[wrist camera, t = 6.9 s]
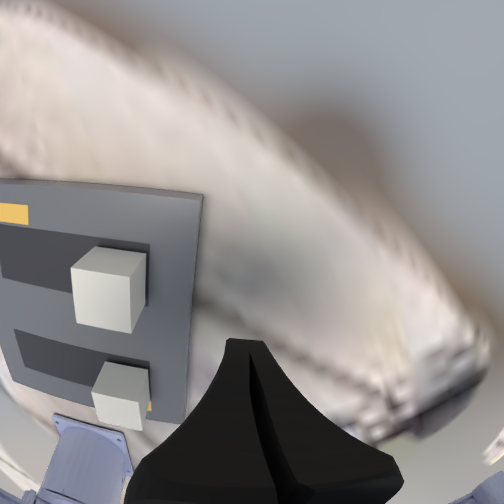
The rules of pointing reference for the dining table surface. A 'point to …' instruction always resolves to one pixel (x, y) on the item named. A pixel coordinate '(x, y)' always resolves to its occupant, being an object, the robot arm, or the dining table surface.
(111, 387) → the tab far
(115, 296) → the tab near
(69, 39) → the dining table surface
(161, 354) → the switch box
